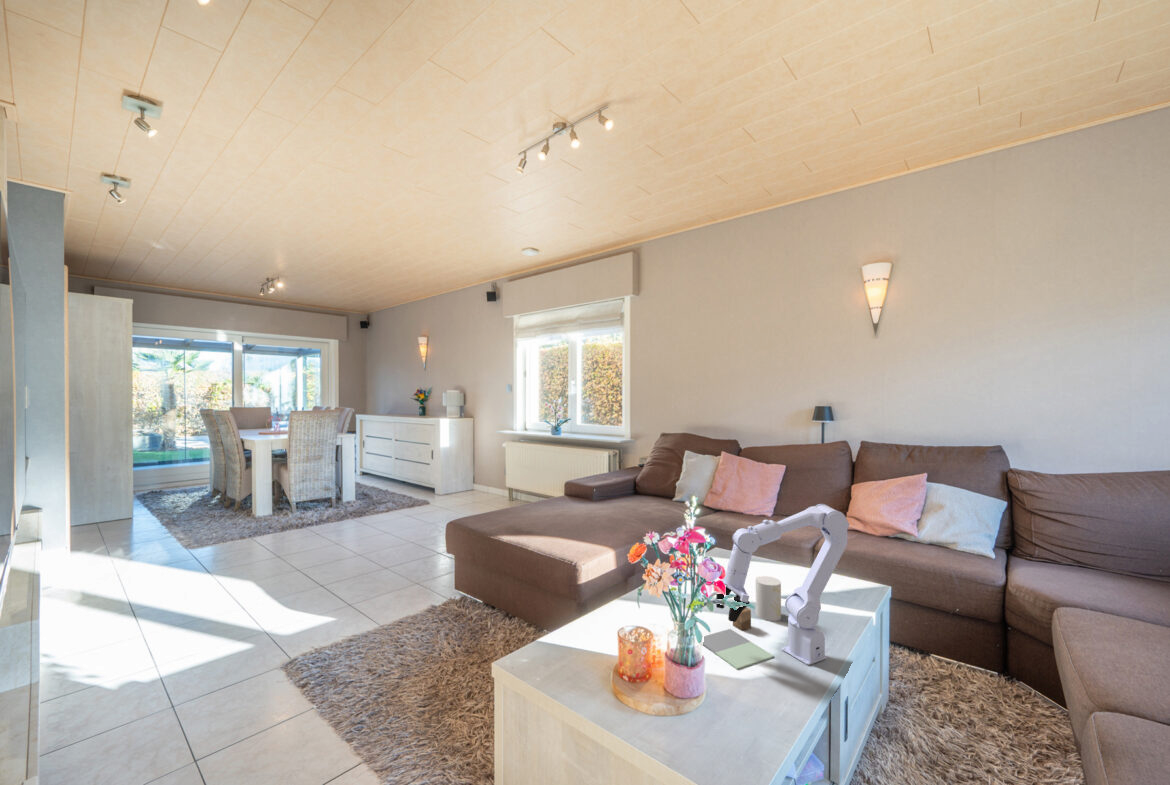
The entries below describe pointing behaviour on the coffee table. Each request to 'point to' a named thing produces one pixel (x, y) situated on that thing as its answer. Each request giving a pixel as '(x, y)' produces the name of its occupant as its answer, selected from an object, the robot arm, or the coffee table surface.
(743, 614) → the block
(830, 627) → the coffee table surface
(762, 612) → the beige cylinder
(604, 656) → the coffee table surface
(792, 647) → the robot arm
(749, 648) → the board
